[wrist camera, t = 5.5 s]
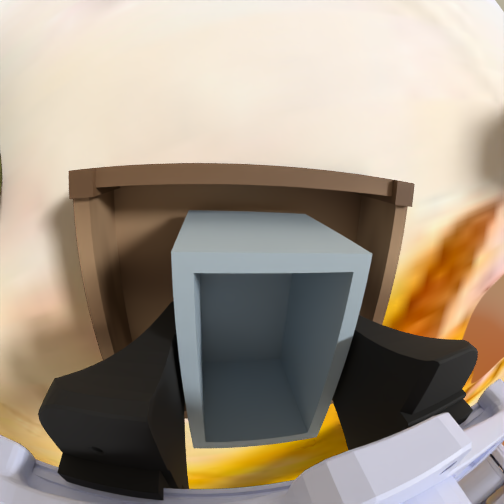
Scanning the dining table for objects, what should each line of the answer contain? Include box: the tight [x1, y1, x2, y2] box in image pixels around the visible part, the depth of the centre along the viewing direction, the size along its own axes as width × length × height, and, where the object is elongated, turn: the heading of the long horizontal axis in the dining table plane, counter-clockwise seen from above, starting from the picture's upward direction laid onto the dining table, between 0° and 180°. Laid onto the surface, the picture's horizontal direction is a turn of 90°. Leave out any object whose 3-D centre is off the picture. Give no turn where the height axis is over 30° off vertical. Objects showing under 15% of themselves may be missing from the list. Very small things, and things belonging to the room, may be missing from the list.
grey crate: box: [171, 210, 372, 448], centre depth 10 cm, size 8×5×6 cm, turn 177°
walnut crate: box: [69, 163, 414, 418], centre depth 12 cm, size 12×13×4 cm
